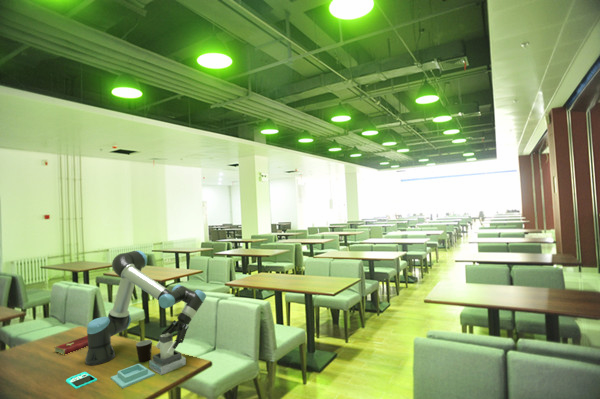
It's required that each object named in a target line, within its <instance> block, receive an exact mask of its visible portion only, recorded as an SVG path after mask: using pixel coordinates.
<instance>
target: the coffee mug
mask: <svg viewBox="0 0 600 399" xmlns="http://www.w3.org/2000/svg"><path fill="white" fill-rule="evenodd" d="M152 345H153V340H151V339H145V340H141V341H138V342H136V343H135V348H136V354H137V359H138V362H139V364H143V363H149V360H152V350H153V349H152V347H153V346H152Z"/></svg>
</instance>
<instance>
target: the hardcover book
mask: <svg viewBox="0 0 600 399" xmlns="http://www.w3.org/2000/svg"><path fill="white" fill-rule="evenodd" d="M86 346H88V336H87V335H84V336H82V337H80V338H77V339H73V340H70V341H67V342H65V343H62V344H59V345H56V346H54V347H53V348H54V349H55V351H54V352H55V353H56V352H59V353H62V354H64V355H63V356H66V355H65V354H67V355H69V354H68V353H70V352H72V353H74V352H73V351H75V352H77V351H80V350H82V349H81V348H83V349H85V348H87V347H86ZM84 347H85V348H84ZM79 349H80V350H79ZM76 350H77V351H76ZM59 353H58V354H59ZM62 354H61V355H62ZM70 354H71V353H70Z"/></svg>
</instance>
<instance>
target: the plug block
mask: <svg viewBox="0 0 600 399" xmlns="http://www.w3.org/2000/svg"><path fill="white" fill-rule="evenodd" d="M159 341H160V349H159V350H160V352H159V353H160V354H161V359H166V358H168V357H171V356H173V355H174V353H172V355H170V354H168V353H167V352H168V350H169V348H170V347H171V345H172V344H173V342H174V339H173V333H171V334H169V333H166V334H161V335H159Z"/></svg>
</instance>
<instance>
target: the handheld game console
mask: <svg viewBox="0 0 600 399" xmlns="http://www.w3.org/2000/svg"><path fill="white" fill-rule="evenodd" d="M97 381H98V378H96V377H94V376H93V375H91V373H90V374H89V373H88V372H87V371H83V372H80V373H78V374H75V375H72V376H70V377H69V378H67V379H66V380H65V382H66V383H67V384H68V385H69V386H71V387H72V388H74V389H75V390H77V389H80V388H82V387H85V386H87V385H90V384H92V383H95V382H97Z"/></svg>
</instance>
